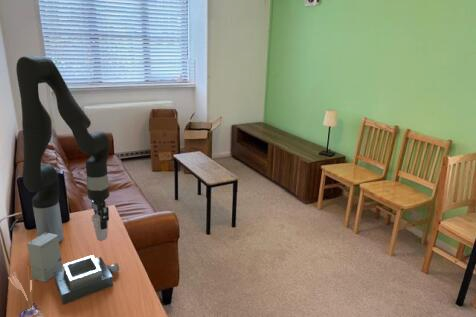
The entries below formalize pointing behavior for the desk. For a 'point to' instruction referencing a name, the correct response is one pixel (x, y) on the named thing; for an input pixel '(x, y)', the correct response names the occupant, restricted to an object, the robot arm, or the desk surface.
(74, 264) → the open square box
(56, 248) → the skincare box
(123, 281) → the desk surface
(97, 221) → the smoothie
